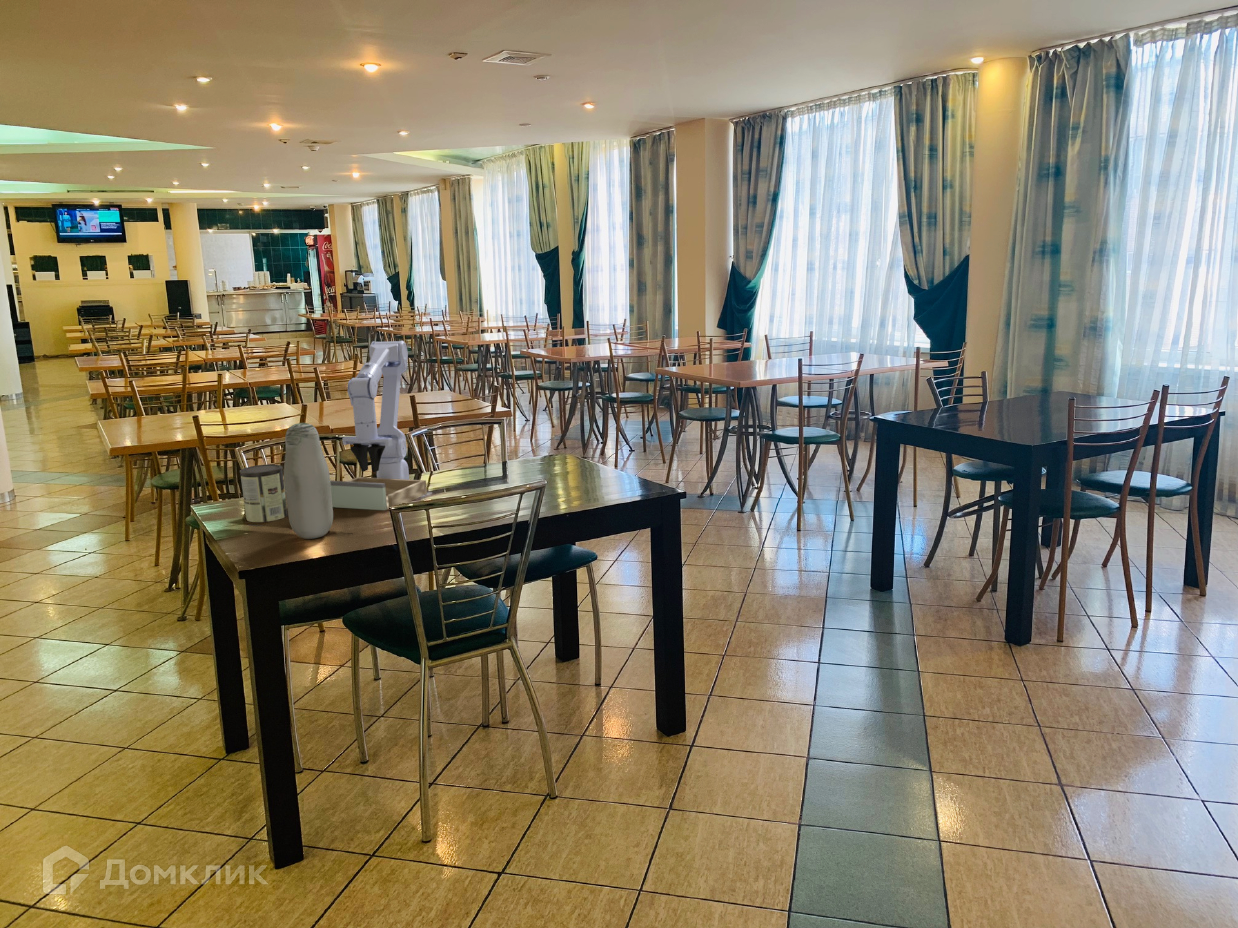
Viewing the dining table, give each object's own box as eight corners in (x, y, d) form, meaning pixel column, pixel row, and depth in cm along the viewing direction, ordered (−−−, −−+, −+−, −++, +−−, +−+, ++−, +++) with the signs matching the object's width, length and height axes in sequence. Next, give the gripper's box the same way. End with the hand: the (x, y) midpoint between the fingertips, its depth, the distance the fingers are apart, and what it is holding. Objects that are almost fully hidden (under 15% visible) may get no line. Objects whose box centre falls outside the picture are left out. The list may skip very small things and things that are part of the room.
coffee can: (263, 515, 238) (256, 463, 235) (296, 516, 235) (290, 464, 232) (237, 525, 228) (230, 472, 225) (271, 527, 225) (265, 473, 222)
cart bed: (359, 493, 258) (357, 477, 257) (427, 497, 250) (425, 480, 249) (322, 509, 242) (320, 491, 241) (393, 513, 235) (391, 495, 234)
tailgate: (326, 505, 241) (323, 480, 239) (387, 509, 235) (384, 483, 233) (323, 506, 240) (320, 481, 238) (384, 510, 234) (382, 484, 232)
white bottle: (297, 532, 220) (284, 420, 214) (339, 530, 220) (328, 419, 214) (285, 544, 210) (272, 427, 204) (329, 542, 211) (317, 425, 205)
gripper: (333, 423, 239) (338, 473, 242) (380, 425, 234) (384, 475, 237) (349, 419, 245) (354, 467, 248) (394, 420, 241) (399, 469, 244)
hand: (370, 471), depth 243 cm, fingers open, 3 cm apart
